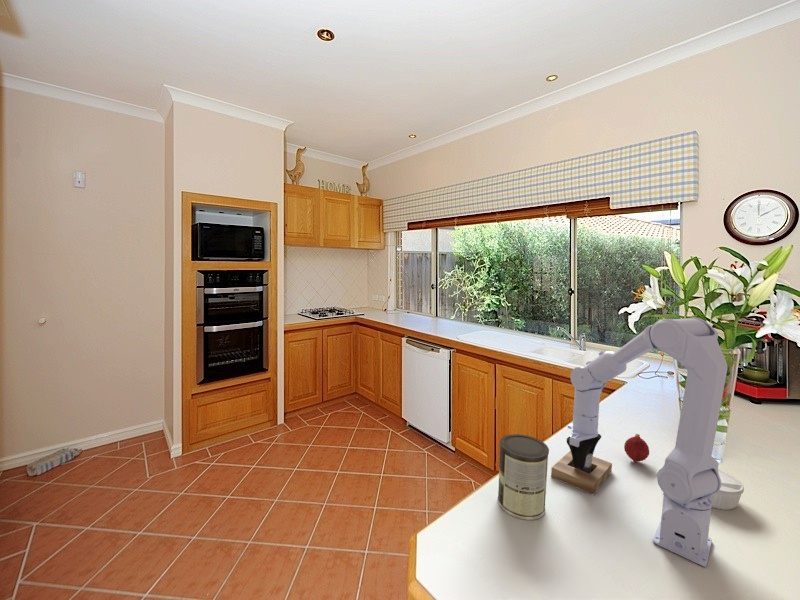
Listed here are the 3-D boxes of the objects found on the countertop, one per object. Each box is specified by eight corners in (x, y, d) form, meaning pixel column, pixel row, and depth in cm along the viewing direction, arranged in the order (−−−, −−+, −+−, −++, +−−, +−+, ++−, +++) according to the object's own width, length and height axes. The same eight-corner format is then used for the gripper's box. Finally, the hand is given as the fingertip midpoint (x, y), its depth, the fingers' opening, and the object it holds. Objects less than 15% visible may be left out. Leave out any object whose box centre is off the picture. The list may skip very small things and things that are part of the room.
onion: (652, 468, 95) (654, 440, 94) (628, 466, 96) (631, 438, 95) (642, 457, 101) (644, 430, 100) (619, 455, 102) (622, 428, 101)
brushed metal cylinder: (587, 481, 89) (589, 459, 88) (571, 474, 92) (572, 452, 91) (592, 475, 92) (594, 453, 91) (576, 468, 94) (577, 447, 94)
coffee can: (488, 495, 82) (490, 437, 81) (523, 486, 86) (526, 431, 85) (517, 525, 73) (521, 460, 72) (556, 514, 76) (559, 452, 75)
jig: (593, 495, 83) (593, 485, 83) (551, 476, 90) (551, 467, 90) (611, 472, 93) (612, 463, 93) (572, 457, 100) (572, 448, 100)
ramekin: (718, 517, 76) (721, 494, 76) (667, 486, 87) (669, 466, 87) (754, 509, 79) (757, 487, 79) (700, 480, 90) (702, 460, 90)
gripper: (579, 401, 98) (576, 448, 99) (558, 415, 88) (555, 467, 89) (608, 409, 93) (604, 458, 94) (588, 425, 83) (584, 479, 84)
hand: (582, 463), depth 91 cm, fingers open, 5 cm apart
